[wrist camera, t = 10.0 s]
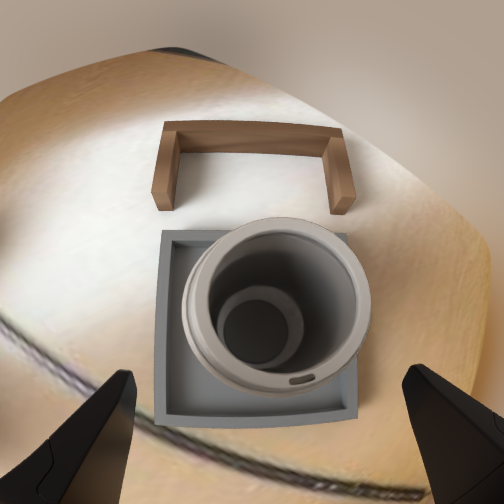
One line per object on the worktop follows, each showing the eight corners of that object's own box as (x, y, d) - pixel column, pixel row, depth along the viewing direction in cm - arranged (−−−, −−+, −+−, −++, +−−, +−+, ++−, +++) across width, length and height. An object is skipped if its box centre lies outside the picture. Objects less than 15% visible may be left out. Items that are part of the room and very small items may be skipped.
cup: (212, 385, 20) (191, 418, 8) (198, 292, 22) (167, 218, 10) (313, 368, 20) (402, 371, 9) (296, 278, 23) (358, 197, 11)
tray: (347, 414, 20) (357, 418, 18) (161, 419, 19) (154, 424, 17) (337, 243, 24) (346, 233, 23) (166, 240, 24) (162, 230, 22)
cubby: (343, 214, 25) (356, 197, 23) (158, 210, 24) (151, 192, 22) (332, 148, 28) (341, 128, 25) (169, 143, 27) (164, 121, 24)
